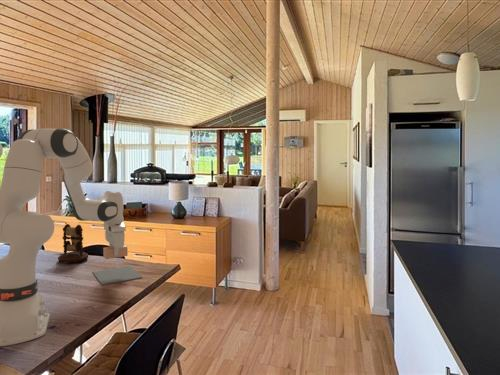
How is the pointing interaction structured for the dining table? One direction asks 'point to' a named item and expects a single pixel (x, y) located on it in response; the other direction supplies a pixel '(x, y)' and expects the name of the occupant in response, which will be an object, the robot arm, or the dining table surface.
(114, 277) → the flat slab
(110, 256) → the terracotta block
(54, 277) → the dining table surface
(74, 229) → the dark brown ornate stand
